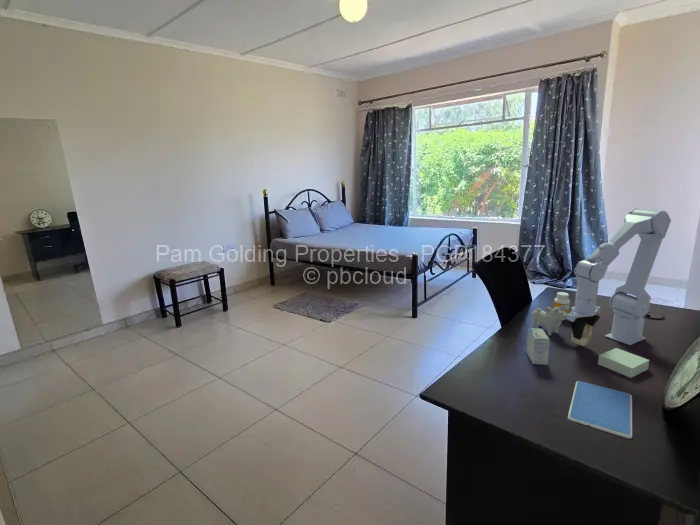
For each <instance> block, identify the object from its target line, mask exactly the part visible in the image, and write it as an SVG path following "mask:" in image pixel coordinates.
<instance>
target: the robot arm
mask: <svg viewBox="0 0 700 525" xmlns="http://www.w3.org/2000/svg"><path fill="white" fill-rule="evenodd" d="M623 220H624V221H623V222H624V223H623V225H622V226H620V228H619V229H618V231H617V232H616V233H615V234H614V235H613V236H612V238H611V239H609V241H608V242H605V243H604V242H603V243H601V244H599V246H598V247H597V248H596V249H595V250H594V251H593V252H592V253H591V254H590V255H589V256H588V257H587V258H586V259H584V260H580V261H578V263H576V265H575V267H574V269H573V272H574V275H575V277H576V278H575V281H576V282H577V283H576V290H575V300H574V305H573V306H571V307H570V310H571V311H570V312H569V314H568V315H567V319H566V320H568V323H569V324H570V327H571V333H572V332H573V337H574V338H576V339H579V340H580V339H581V337H582V334H583V330H584V328H585V326H586V324H588V325H591V326H593V327H592V330H593V329H594V326H595V325H596V323H597V322H598V321H599V320H600V318H601V317H600V315H597V314H600V313H601V309H602V308H601V306H598V305H597V298H598V292H599V284H600V281H601V280H602V279H603V278H605V275H606V272H607V270H608V266H610V265H611V264H612V262H614V261H615V259H616V258H617V257H619V254H620V249H621V248H622V247H623V246H624V245H625V244H626V243H628V242H629V241H630V240H631V239H632V238H634V237H635V236H636V235H638V236H639V238H640V242H639V245H638V247H637V250H636V253H635V256H634V258H633V261H632V264H631V267H630V270H629V272H628V274H627V278H626V280H625V284H623V285H619V286H618V287H616V288H615V290H614V292H613V294H612V295H611V297H610V298H609V307H610V308H612V312H614V314H613V320H612V326H611V332H610V333H607V334H605V335H604V336H605V337H606V338H609V339H612V340H614V341H616V342H620V343H623V344H625V345H628V346H631V345H634V344H637V343H638V342H640V341H643V340H646V338H645V336H643V333H644V332H643V331H644V326H645V318H644V317H645V316H646V315H647V314H648V312H649V310H650V302H651V299H652V297H651V296H650V294H649V293H648V292H647V290H646V289H645V288H646V286H647V283H648V280H649V277H650V276H651V273H652V272H651V271H652V269H653V267H654V264H655V261H656V259H657V256H658V253H659V250H660V247H661V244H662V242H663V239H665V238H666V235H667V233H668V230H669V227H670V225H671V221H672V220H671V218H670V215H669V213H668V212H667V211H666V210H652V209H640V208H636V207H634V208H633V209H631V210H629V211H628V213H627V214H626V215H625V216H624V219H623Z"/></svg>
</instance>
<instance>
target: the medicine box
mask: <svg viewBox="0 0 700 525" xmlns="http://www.w3.org/2000/svg"><path fill="white" fill-rule="evenodd" d="M550 343H551V342H550V338H549V335H547V334H546V332H545V331H544V329H543V328H538V327H536V328H532V327H531V328H530V327H529V328H528V329H527V339H526V348H525V350H526V351H525V352H526V354H527V356H528V358H529V359H530V361H531V364H532V365H545V366H548V364H549V363H548V362H549V353H550Z"/></svg>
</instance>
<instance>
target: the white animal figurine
mask: <svg viewBox="0 0 700 525" xmlns="http://www.w3.org/2000/svg"><path fill="white" fill-rule="evenodd" d="M562 308H563V307H562V306H560V307H556V308H554V309H553V308H552V307H550V306H547V307H545V310H543V309H542V308H540V307H535V309H534V311H532V312H531V314H530V316H531V328H537V327H536V323H537V324H538V327H541V326H542V327H543V325H545V326H546V328H547V329H546V330H547V334H548V335H547V334H546V335H547V336H550V335H551V336H553V335H552V332H555V334H559V331H558V330H559V328H558V327H561V324H562V322H563V321H565V320H567V315H568V314H566V313H565V312H564V311H563V310H562Z"/></svg>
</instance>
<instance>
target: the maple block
mask: <svg viewBox="0 0 700 525" xmlns="http://www.w3.org/2000/svg"><path fill="white" fill-rule="evenodd" d="M592 327H593V326H591V325H588V324H586V326H585V328H584V330H583V334H582V337H581V339H580V340H579V339H576V338H574V337H573V332H572V331H571V337H570V342H572V343H575V344H577V345H579V346H582V347H584V346H586V345H589V344H590V343H591V340H592V333H593V329H592ZM593 328H594V327H593Z"/></svg>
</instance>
